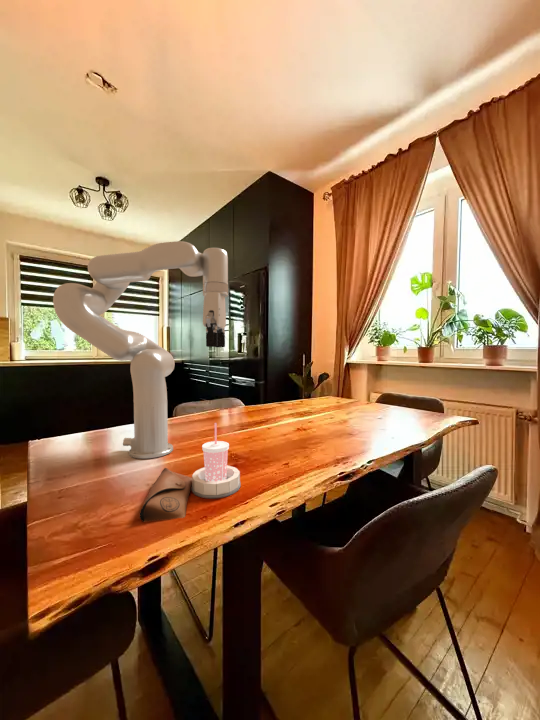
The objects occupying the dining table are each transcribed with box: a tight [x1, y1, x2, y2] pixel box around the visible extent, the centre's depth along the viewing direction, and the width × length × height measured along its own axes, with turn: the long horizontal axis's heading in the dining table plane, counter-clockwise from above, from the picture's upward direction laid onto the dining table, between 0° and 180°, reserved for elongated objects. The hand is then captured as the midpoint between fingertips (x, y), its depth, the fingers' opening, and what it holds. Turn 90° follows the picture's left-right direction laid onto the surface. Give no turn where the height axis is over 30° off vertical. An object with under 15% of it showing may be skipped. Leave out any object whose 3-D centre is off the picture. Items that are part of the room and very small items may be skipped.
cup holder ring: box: [191, 464, 241, 499], centre depth 68 cm, size 11×11×3 cm
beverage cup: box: [201, 422, 230, 481], centre depth 68 cm, size 6×6×14 cm
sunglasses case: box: [139, 467, 192, 523], centre depth 64 cm, size 18×7×7 cm
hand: (216, 347), depth 92 cm, fingers open, 9 cm apart
